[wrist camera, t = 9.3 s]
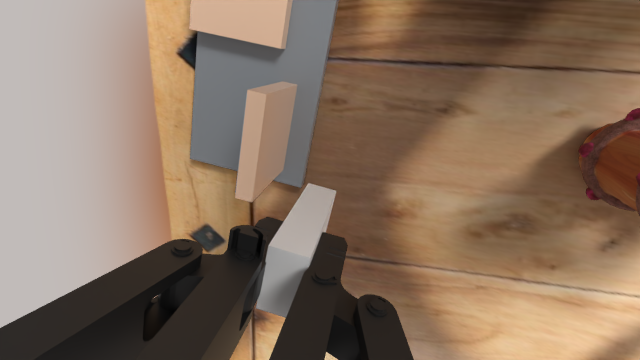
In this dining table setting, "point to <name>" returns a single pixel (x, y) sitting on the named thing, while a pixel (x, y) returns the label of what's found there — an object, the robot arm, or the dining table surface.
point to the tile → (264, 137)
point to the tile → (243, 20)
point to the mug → (614, 163)
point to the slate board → (256, 71)
